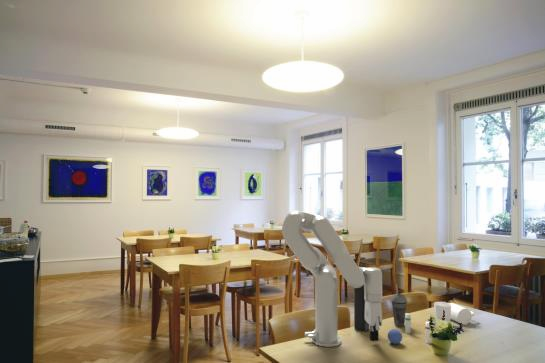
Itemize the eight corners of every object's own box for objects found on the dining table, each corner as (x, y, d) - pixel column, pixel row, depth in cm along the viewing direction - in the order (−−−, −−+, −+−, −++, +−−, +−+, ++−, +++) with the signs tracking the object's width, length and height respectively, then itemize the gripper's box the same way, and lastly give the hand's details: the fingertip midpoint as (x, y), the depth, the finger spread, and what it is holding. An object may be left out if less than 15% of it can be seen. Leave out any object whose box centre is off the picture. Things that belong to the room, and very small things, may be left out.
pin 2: (427, 343, 163) (427, 323, 163) (424, 341, 165) (424, 321, 166) (432, 343, 163) (432, 323, 163) (430, 341, 165) (429, 321, 166)
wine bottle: (370, 329, 181) (369, 265, 182) (364, 332, 176) (363, 267, 177) (359, 326, 184) (359, 264, 185) (353, 329, 180) (353, 265, 181)
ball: (390, 346, 160) (390, 332, 160) (385, 341, 166) (385, 327, 166) (404, 346, 160) (404, 331, 161) (399, 340, 166) (398, 326, 167)
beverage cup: (408, 328, 181) (407, 286, 182) (392, 327, 183) (392, 285, 184) (406, 323, 189) (405, 282, 189) (390, 322, 190) (390, 282, 191)
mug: (458, 325, 186) (457, 309, 186) (444, 318, 196) (444, 303, 196) (479, 323, 188) (478, 307, 189) (465, 317, 198) (464, 302, 198)
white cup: (444, 328, 182) (443, 307, 182) (430, 323, 189) (430, 303, 189) (455, 325, 186) (454, 304, 186) (441, 320, 193) (441, 300, 193)
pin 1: (406, 333, 174) (406, 314, 175) (404, 331, 177) (404, 313, 177) (411, 333, 175) (411, 314, 175) (409, 331, 177) (409, 313, 177)
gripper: (359, 292, 170) (360, 334, 170) (370, 302, 155) (371, 347, 155) (376, 292, 171) (376, 333, 170) (388, 301, 156) (389, 346, 155)
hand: (374, 340), depth 163 cm, fingers closed
